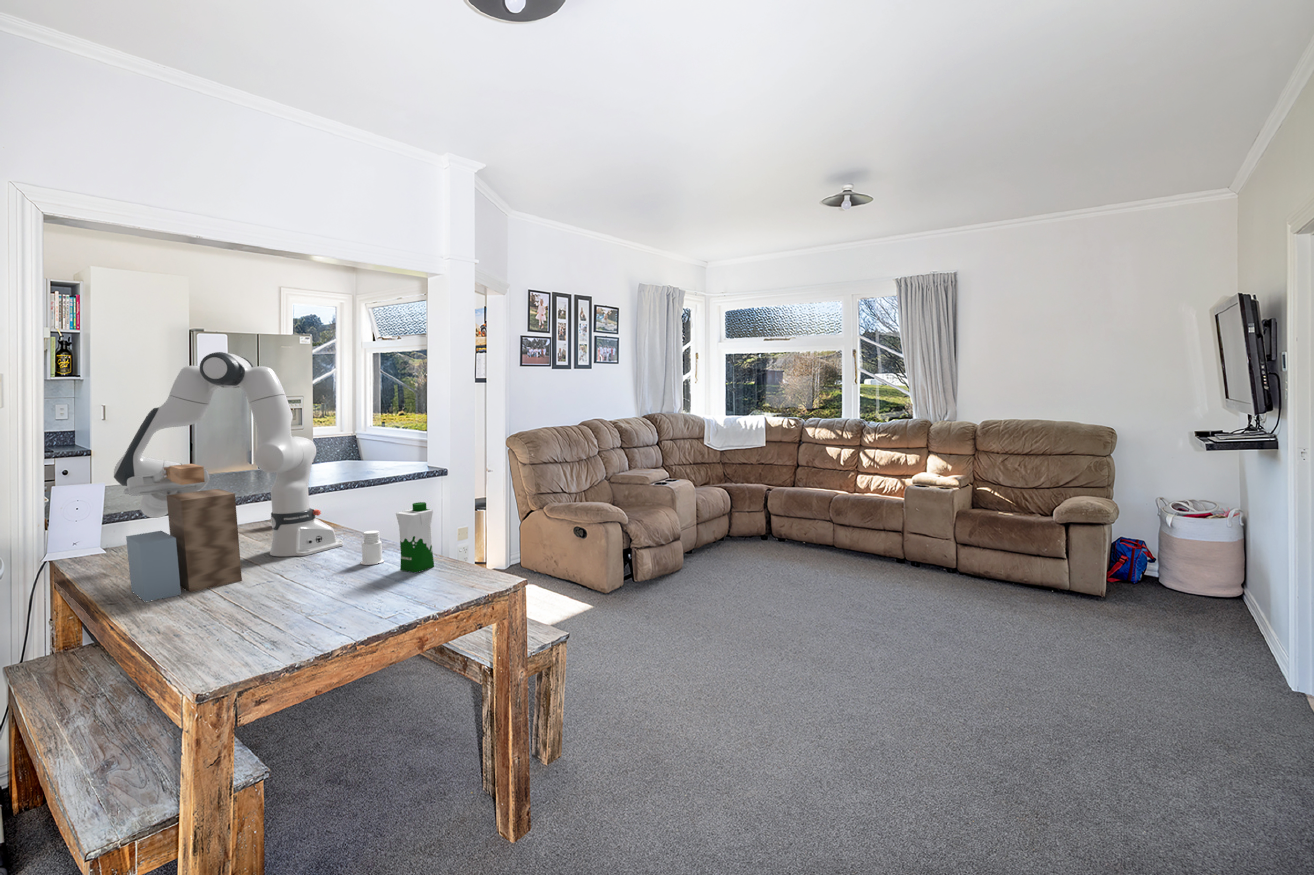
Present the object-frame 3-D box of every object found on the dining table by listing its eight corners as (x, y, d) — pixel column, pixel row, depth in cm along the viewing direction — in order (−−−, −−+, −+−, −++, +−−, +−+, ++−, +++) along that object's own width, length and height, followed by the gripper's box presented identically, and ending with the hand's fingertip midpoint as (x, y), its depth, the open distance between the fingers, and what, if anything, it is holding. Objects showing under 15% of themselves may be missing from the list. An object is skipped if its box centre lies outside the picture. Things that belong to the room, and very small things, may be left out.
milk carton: (438, 566, 203) (435, 503, 201) (415, 574, 195) (412, 508, 193) (418, 562, 207) (415, 501, 205) (395, 570, 199) (391, 506, 197)
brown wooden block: (182, 475, 199) (180, 460, 199) (204, 482, 186) (203, 466, 186) (159, 477, 195) (158, 462, 195) (181, 484, 182) (179, 468, 181)
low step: (166, 584, 189) (161, 530, 187) (180, 594, 180) (175, 537, 179) (131, 591, 183) (126, 536, 181) (145, 602, 174) (139, 544, 172)
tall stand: (225, 571, 201) (218, 488, 198) (241, 580, 192) (234, 493, 189) (174, 582, 191) (166, 495, 188) (189, 592, 182) (181, 500, 179)
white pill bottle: (374, 566, 204) (373, 534, 203) (354, 565, 205) (353, 534, 205) (389, 560, 212) (388, 529, 211) (370, 559, 213) (369, 529, 213)
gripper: (120, 485, 196) (128, 465, 187) (200, 476, 211) (210, 458, 203) (124, 504, 194) (132, 485, 186) (204, 494, 210) (215, 476, 202)
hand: (174, 471), depth 195 cm, fingers closed on brown wooden block, 3 cm apart
